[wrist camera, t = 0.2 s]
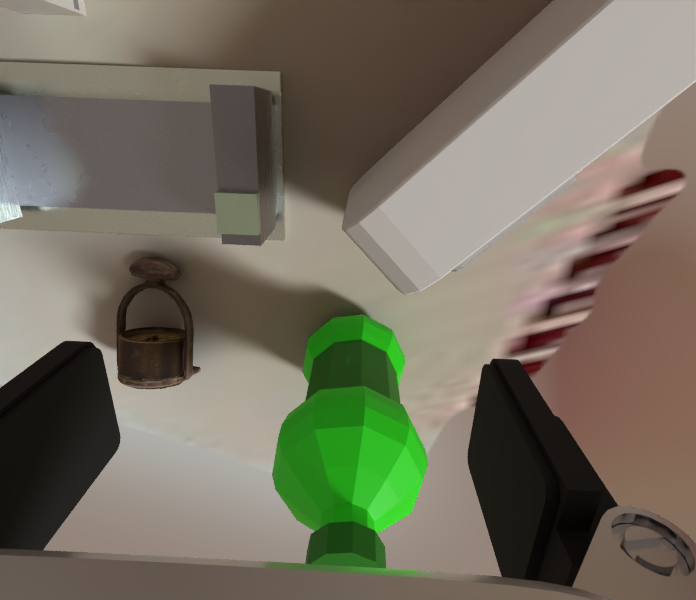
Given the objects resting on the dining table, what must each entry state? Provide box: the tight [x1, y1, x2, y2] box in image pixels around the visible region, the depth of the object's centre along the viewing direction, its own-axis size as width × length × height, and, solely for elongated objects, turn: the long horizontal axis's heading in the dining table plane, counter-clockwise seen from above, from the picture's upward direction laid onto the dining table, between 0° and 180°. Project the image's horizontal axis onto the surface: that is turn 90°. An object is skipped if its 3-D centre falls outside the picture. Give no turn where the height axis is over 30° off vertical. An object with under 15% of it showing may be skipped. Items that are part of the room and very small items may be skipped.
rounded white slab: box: [342, 0, 696, 295], centre depth 28 cm, size 29×8×18 cm, turn 132°
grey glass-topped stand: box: [0, 62, 285, 246], centre depth 34 cm, size 14×27×9 cm, turn 88°
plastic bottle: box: [272, 315, 428, 568], centre depth 33 cm, size 10×10×25 cm
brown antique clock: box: [117, 257, 201, 389], centre depth 41 cm, size 7×13×10 cm
